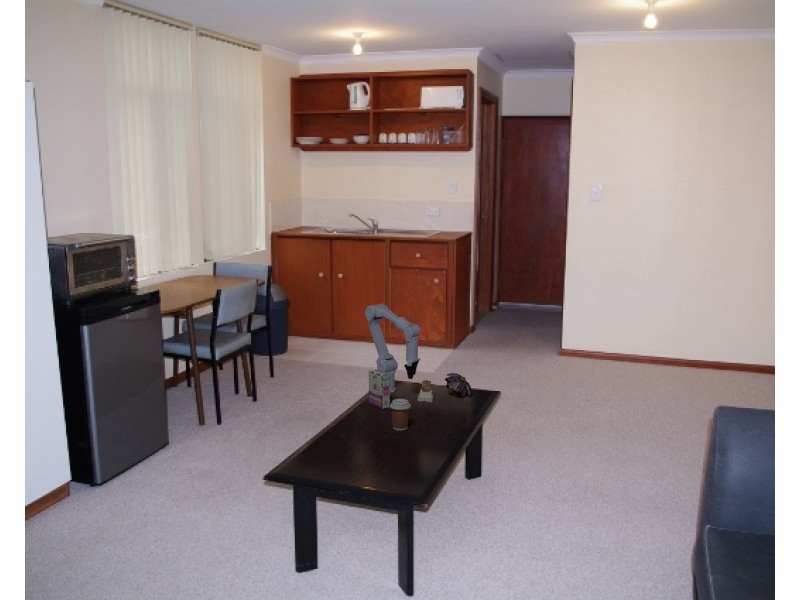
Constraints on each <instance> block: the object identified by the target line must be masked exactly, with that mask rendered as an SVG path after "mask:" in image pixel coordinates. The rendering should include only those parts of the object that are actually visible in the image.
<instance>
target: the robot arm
mask: <svg viewBox="0 0 800 600" xmlns="http://www.w3.org/2000/svg"><path fill="white" fill-rule="evenodd" d="M364 314H365V317H366V320H367V325H368V328H369V332H370V334H371V337H372V340H373V343H374V346H375V350H376V353H377V355H378V357H377V359H376V360H375V363H376V370H379V371H382V372H385V373H388V374H390V393H395V391H396V390H397V386H396V385H395V381H396V380H395V378H396V377H395V376H396V374H395V373H396V371H397V370H398V367H399V364H398V361H397V360H396V358H395V356H394V355H393V354H391V353H390V352H389V349H388V346H387V342H386V339H385V337H384V334H383V331H382V328H381V325H380V323H381V322H382V320H383V319H384V318H386V319H387V320H389V321H390V322H392V323H394V326H395V328H397V329H398V330H399V331H400V332H402V333H403V335H404V337H405V343H406V344H405V345H406V346H405V361H406V362H407V363H405V364H404V368H405V371H406V374H407V379H408V380H413V379H414V375H416V374H417V368H418V364H419V362H420V361H421V357H420V358H419V357H418V356H419V336H420V335H421V333H422V332H421V330H422V329H421V327H420V326H419V325H418V323H417V324H415V323H412V322H410V321H408V320H407V319H406V317H404V316H398V315H396V314H395V313H394V312H393V311H391V309H389V307H388V306H387V305H386V304H384V303H379V304H373V305H367V307H366V309H365V311H364ZM395 386H396V387H395Z"/></svg>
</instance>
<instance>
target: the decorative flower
mask: <svg viewBox="0 0 800 600" xmlns="http://www.w3.org/2000/svg"><path fill="white" fill-rule="evenodd" d="M445 376H446V377H445V378H444V381H445V382H446V384H445V386H446V388H447V389H448V390H447V391H446V392H447V393H448V395H449V394H450V395H453V394H457V395H459V396H460V398H461V399H463V398H464V397H465V396H466V394H467V393H468V398H470V397H472V395H473V391H472V387H471V386H472V385H470V383H469V381H468V380H467V379H466V377H465V376H462V375H461V374H460V373H456V372H452V373H451V372H450V373H447V374H445Z"/></svg>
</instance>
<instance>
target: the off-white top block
mask: <svg viewBox="0 0 800 600" xmlns="http://www.w3.org/2000/svg"><path fill="white" fill-rule="evenodd" d="M419 391H420V392H419V393H420V397H429V398H431V397H432V394H433V389H432V388H431V391H430V392H423V391H422V388H420V390H419Z"/></svg>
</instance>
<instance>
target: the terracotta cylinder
mask: <svg viewBox="0 0 800 600" xmlns="http://www.w3.org/2000/svg"><path fill="white" fill-rule="evenodd" d="M421 389H422V391H423V392H430V391H431V389H432V381H431V380H427V379H426V380H422V381H421Z"/></svg>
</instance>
